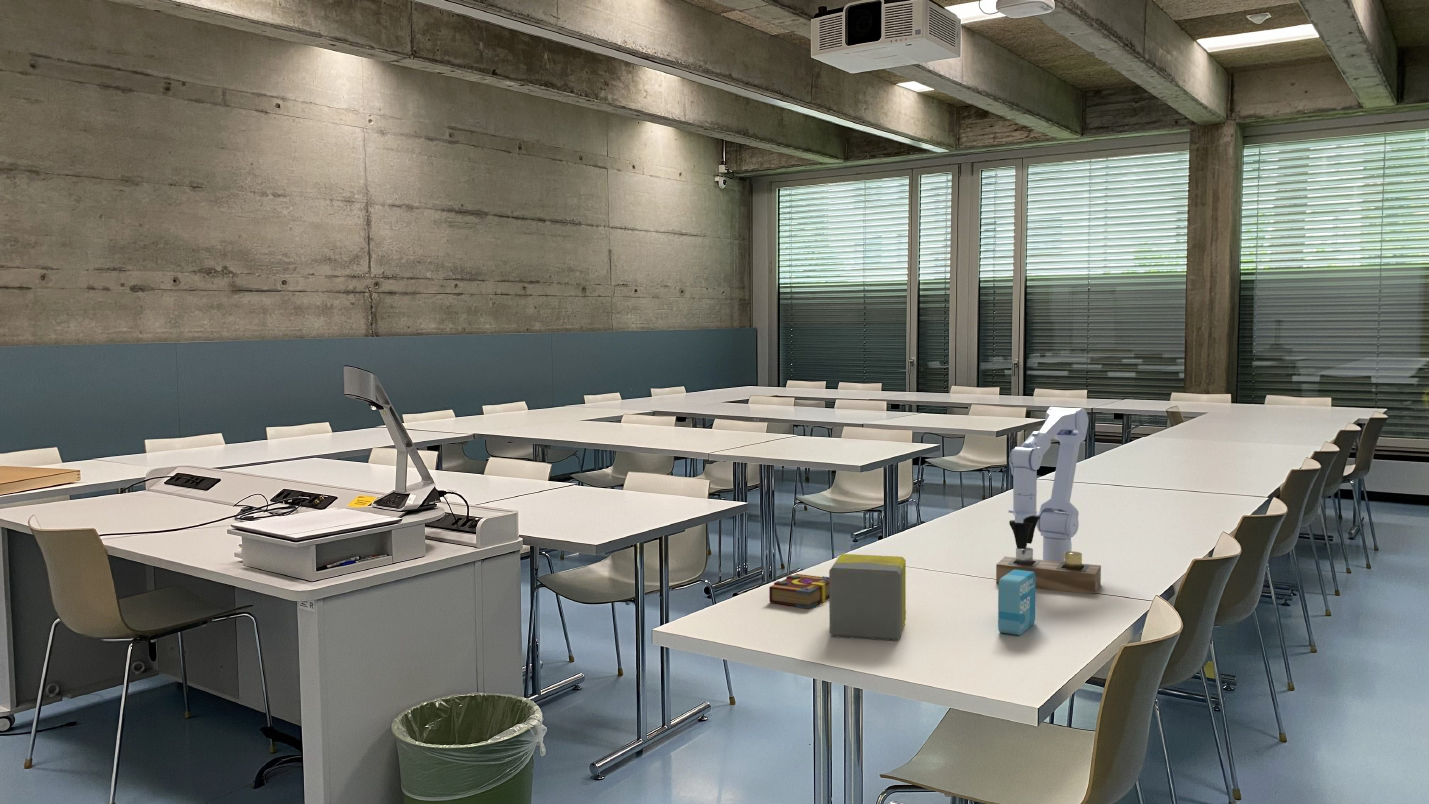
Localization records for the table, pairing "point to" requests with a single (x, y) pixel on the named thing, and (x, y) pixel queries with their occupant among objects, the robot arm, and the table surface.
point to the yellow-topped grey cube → (867, 596)
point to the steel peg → (1024, 556)
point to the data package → (1016, 602)
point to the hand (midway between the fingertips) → (1024, 545)
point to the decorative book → (800, 591)
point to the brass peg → (1073, 560)
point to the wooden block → (1055, 575)
